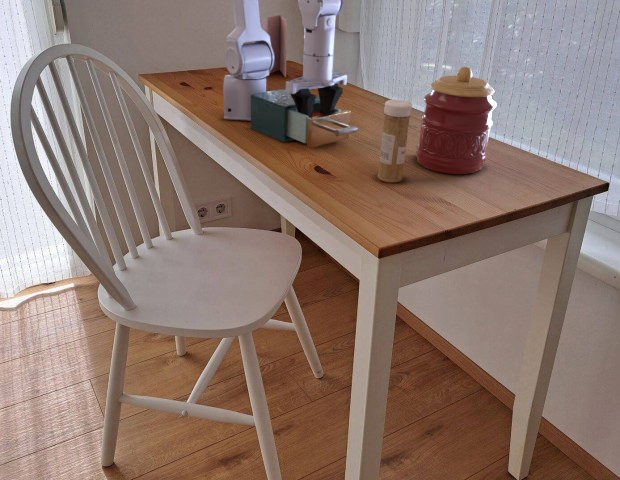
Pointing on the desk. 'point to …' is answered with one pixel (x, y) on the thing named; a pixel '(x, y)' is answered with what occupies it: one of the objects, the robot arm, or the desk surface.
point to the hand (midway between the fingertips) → (315, 125)
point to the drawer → (318, 126)
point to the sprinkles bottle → (394, 140)
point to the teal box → (272, 113)
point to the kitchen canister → (456, 124)
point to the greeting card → (277, 40)
